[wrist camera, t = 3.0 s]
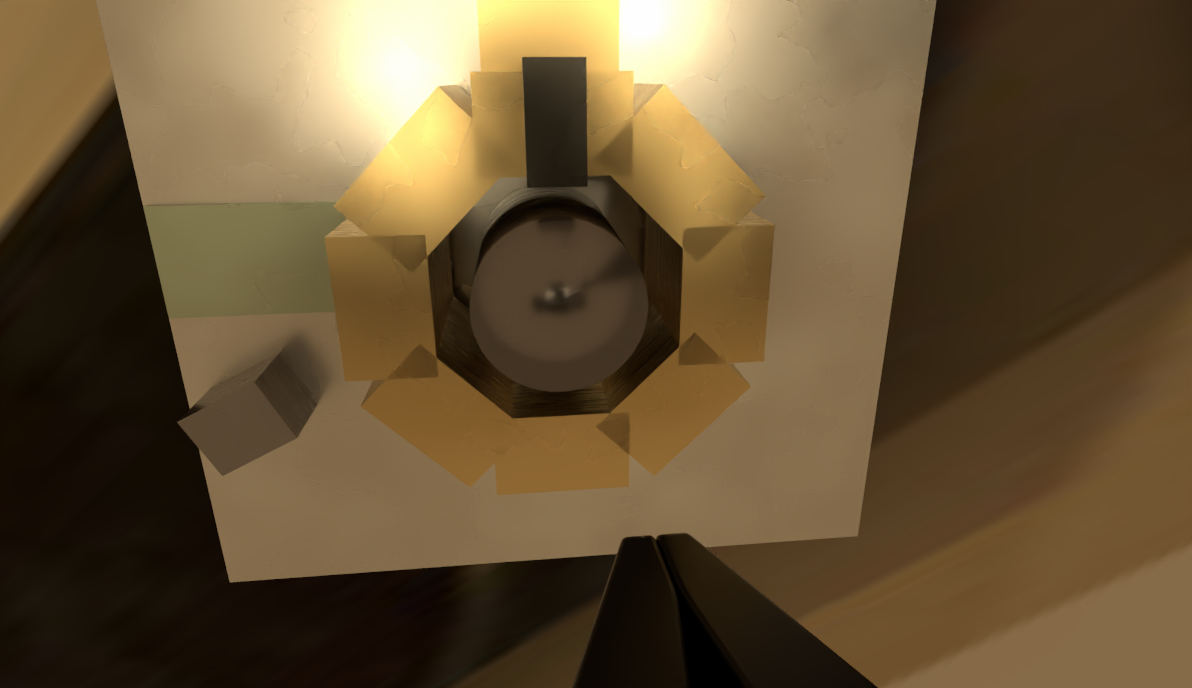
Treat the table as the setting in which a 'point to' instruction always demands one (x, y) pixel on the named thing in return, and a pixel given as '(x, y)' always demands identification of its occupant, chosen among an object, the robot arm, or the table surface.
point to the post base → (510, 268)
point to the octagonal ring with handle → (547, 159)
